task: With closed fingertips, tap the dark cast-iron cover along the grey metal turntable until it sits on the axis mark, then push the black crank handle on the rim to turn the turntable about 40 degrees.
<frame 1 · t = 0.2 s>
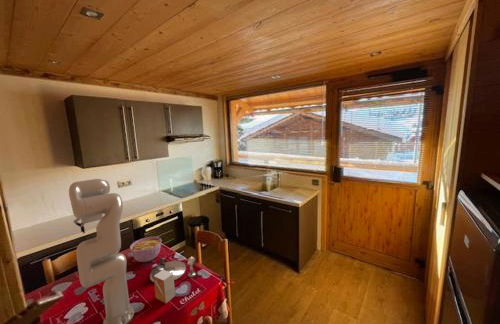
hand: (93, 229, 130), 31 cm above the table, fingers open, 9 cm apart
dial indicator: (191, 274, 132), on the table
bowl of food: (147, 259, 152), on the table
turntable: (167, 267, 134), point 3 cm above the table, hinge at 0.0°, touching cover
cover: (158, 275, 130), point 2 cm above the table, touching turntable
small box: (165, 297, 114), on the table
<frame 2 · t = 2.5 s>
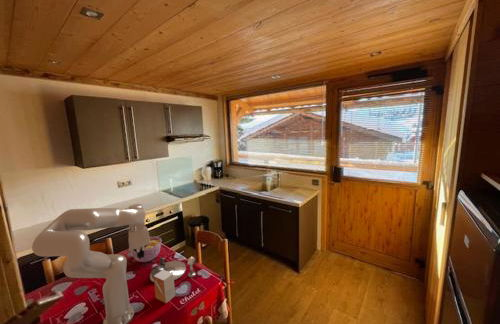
hand: (140, 257, 122), 17 cm above the table, fingers closed
nothing on the table moved.
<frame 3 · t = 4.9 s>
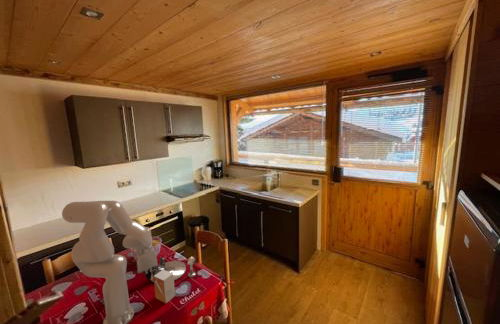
hand: (148, 278, 126), 3 cm above the table, fingers closed
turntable: (167, 267, 134), point 3 cm above the table, hinge at 0.0°
cover: (159, 275, 130), point 2 cm above the table, touching gripper
everything else where it was.
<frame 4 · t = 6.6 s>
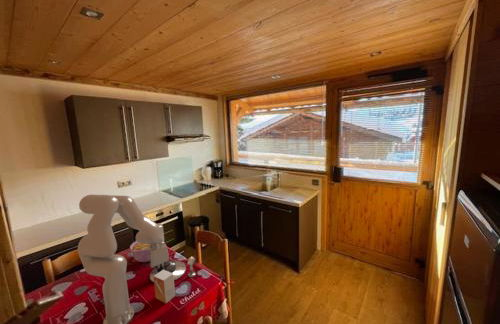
hand: (160, 272, 131), 2 cm above the table, fingers closed
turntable: (167, 267, 134), point 3 cm above the table, hinge at -0.1°, touching cover
cover: (170, 269, 135), point 2 cm above the table, touching gripper, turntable
everything else where it was.
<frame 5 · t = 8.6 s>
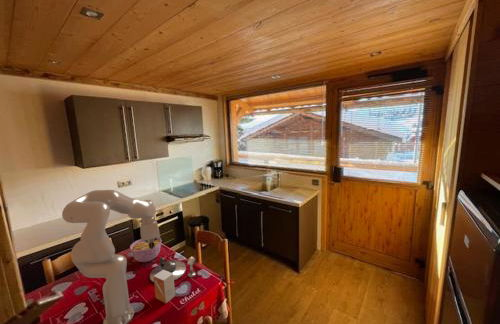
hand: (152, 248, 134), 16 cm above the table, fingers closed
cover: (170, 269, 135), point 2 cm above the table, touching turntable
everything else where it was.
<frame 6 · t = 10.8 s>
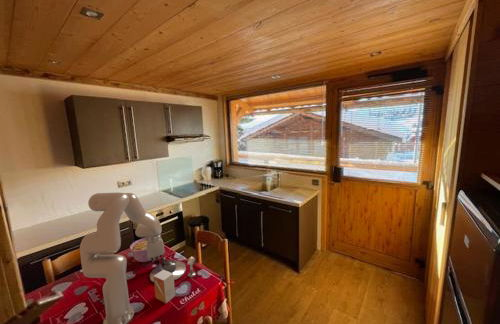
hand: (157, 265, 139), 3 cm above the table, fingers closed
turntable: (167, 267, 134), point 3 cm above the table, hinge at -4.5°, touching cover, gripper
everything else where it was.
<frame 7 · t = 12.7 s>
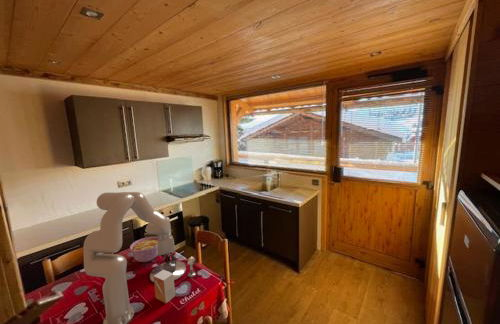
hand: (167, 262, 142), 3 cm above the table, fingers closed
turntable: (167, 267, 134), point 3 cm above the table, hinge at -49.6°, touching cover
cover: (170, 270, 134), point 2 cm above the table, touching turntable
everything else where it was.
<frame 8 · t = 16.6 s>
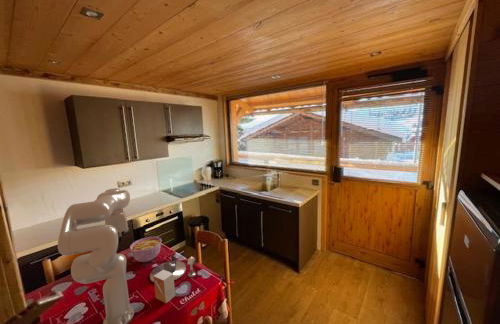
hand: (119, 243, 119), 27 cm above the table, fingers closed
nothing on the table moved.
at the end: cover 1.3 cm from the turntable (horizontally); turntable at -50° (first picture: +0°); cover tilted 0° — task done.
